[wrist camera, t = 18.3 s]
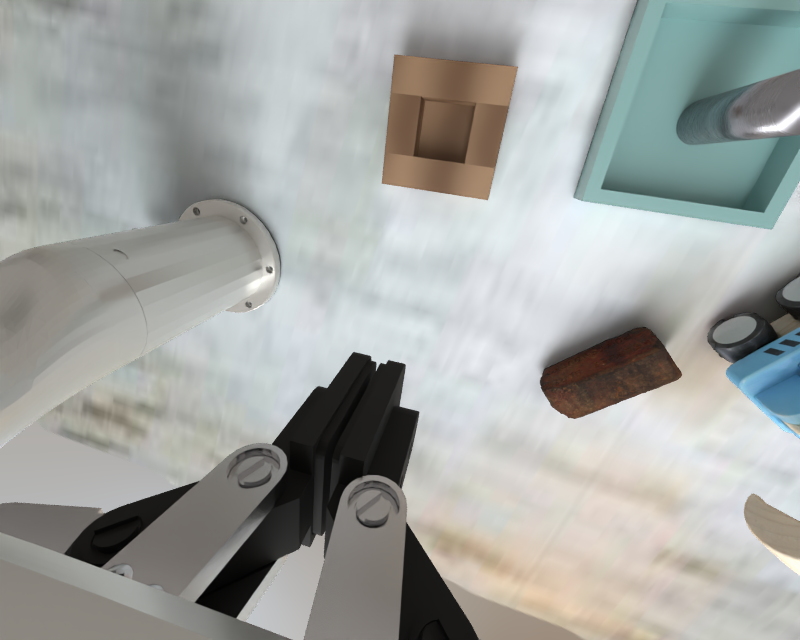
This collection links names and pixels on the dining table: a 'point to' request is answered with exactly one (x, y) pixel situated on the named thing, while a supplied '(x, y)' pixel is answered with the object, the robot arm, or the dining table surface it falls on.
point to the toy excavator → (768, 398)
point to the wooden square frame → (446, 124)
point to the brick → (609, 373)
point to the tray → (680, 87)
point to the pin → (745, 113)
